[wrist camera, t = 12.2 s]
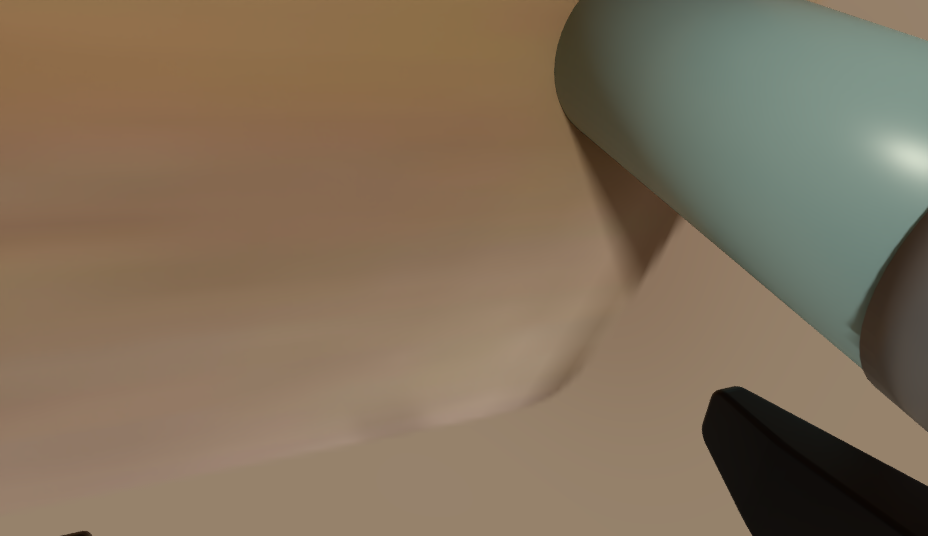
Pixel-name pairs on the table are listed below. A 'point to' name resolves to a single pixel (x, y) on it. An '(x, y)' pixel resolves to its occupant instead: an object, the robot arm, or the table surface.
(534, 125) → the table surface
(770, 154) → the canister
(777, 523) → the robot arm
